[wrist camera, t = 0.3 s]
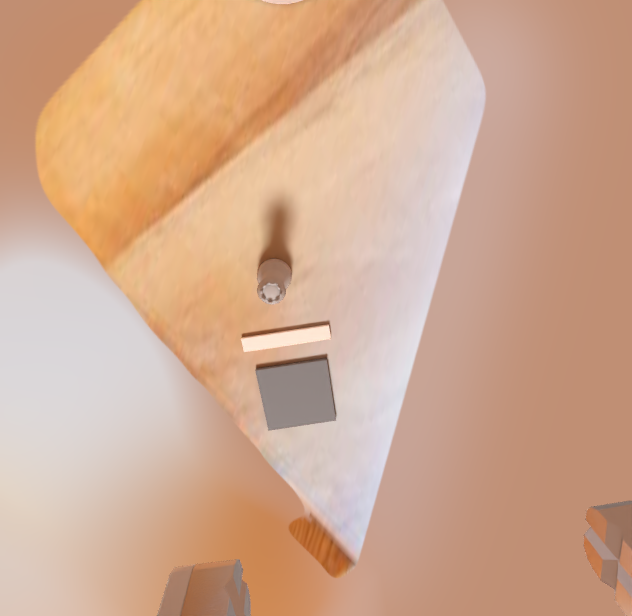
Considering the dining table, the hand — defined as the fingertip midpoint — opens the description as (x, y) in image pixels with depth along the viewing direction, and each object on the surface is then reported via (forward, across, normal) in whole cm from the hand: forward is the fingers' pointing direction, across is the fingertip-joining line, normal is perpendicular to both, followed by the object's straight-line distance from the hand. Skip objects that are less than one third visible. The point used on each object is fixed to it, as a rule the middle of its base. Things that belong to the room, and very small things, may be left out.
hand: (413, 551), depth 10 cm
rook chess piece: (+46, +6, +5) cm, 47 cm away
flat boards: (+46, +7, +20) cm, 51 cm away
